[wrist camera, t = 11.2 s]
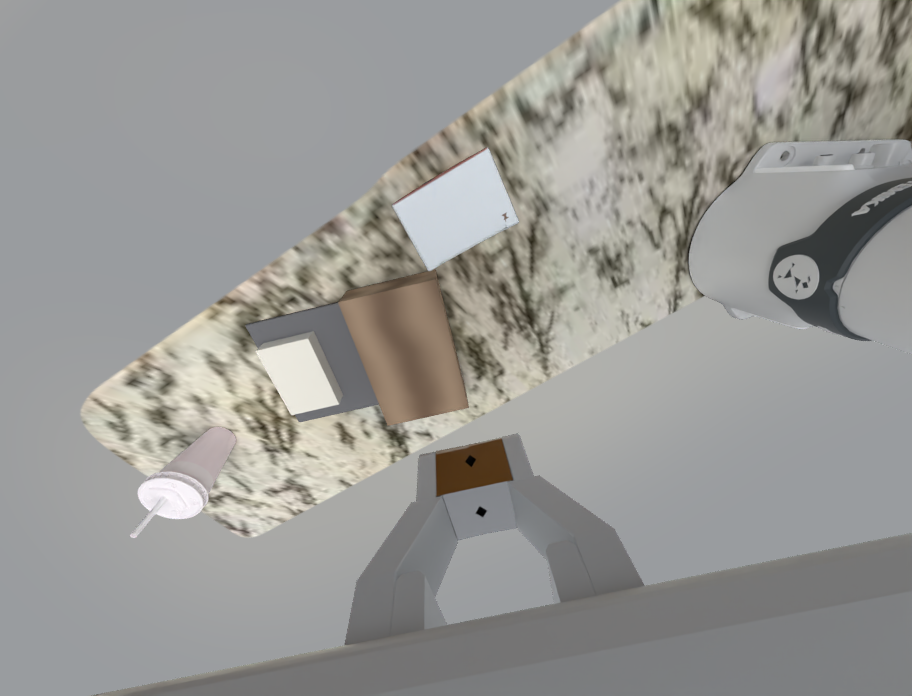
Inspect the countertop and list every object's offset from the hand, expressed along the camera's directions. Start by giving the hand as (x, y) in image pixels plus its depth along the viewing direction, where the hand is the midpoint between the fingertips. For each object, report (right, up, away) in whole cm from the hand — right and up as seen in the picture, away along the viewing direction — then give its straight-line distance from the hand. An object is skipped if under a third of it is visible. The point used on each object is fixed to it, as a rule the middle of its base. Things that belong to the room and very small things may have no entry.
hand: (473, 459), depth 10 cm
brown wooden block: (-6, +4, +30) cm, 31 cm away
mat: (-17, +1, +30) cm, 35 cm away
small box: (-1, +18, +24) cm, 30 cm away
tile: (-18, 0, +28) cm, 34 cm away
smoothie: (-32, -8, +34) cm, 48 cm away
